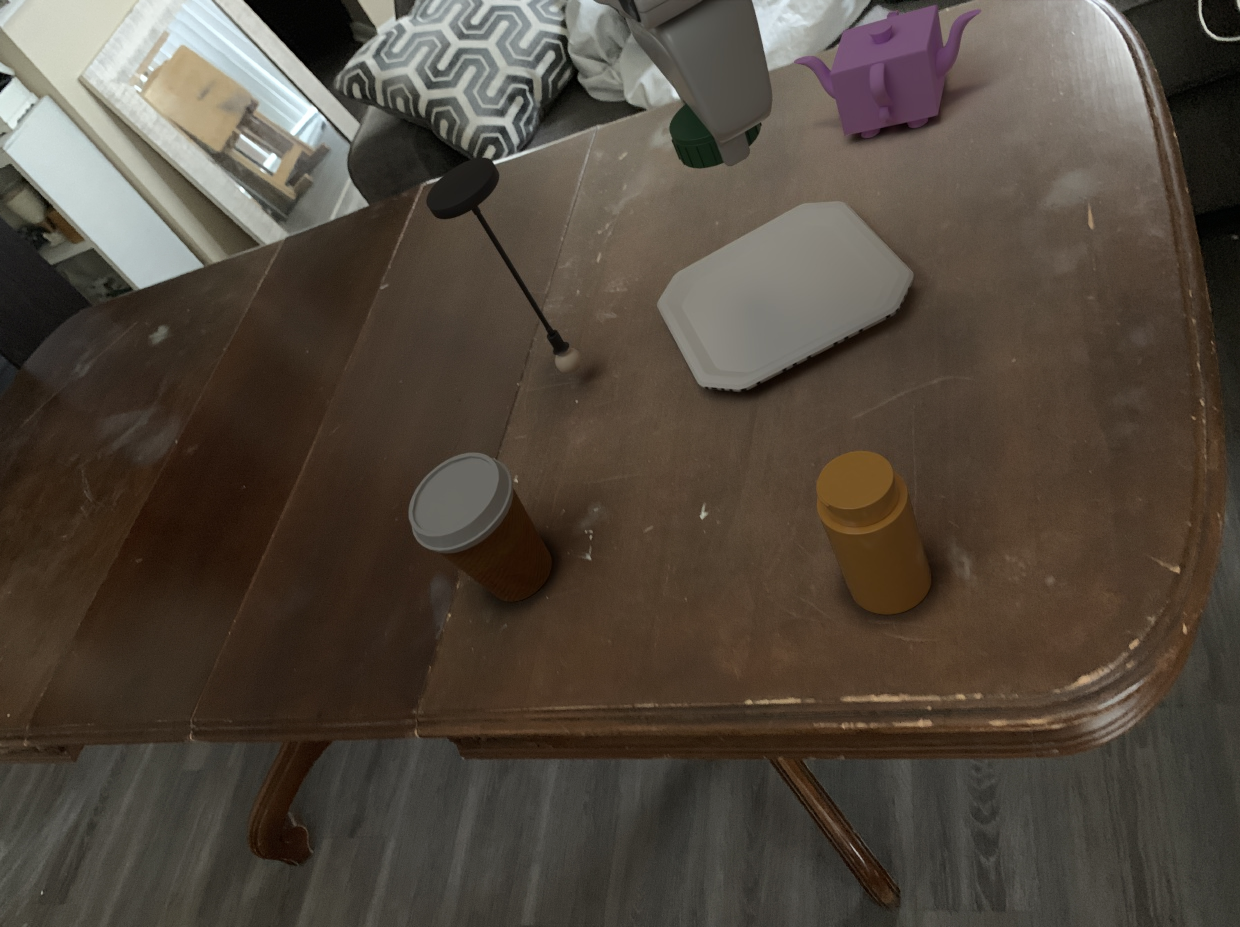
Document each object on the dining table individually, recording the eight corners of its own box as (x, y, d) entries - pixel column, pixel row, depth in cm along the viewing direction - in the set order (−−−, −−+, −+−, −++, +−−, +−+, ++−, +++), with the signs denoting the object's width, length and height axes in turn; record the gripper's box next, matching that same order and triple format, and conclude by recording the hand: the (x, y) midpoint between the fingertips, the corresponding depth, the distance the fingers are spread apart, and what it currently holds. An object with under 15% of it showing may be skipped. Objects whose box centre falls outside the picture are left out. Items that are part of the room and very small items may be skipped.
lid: (681, 181, 62) (670, 152, 60) (677, 136, 65) (666, 108, 64) (766, 146, 60) (757, 116, 58) (757, 102, 63) (747, 72, 62)
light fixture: (545, 384, 96) (418, 192, 79) (597, 349, 95) (481, 148, 78) (565, 417, 91) (436, 220, 74) (621, 381, 91) (503, 173, 73)
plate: (936, 309, 77) (932, 289, 75) (716, 420, 81) (709, 404, 80) (836, 203, 91) (831, 185, 90) (654, 303, 96) (646, 287, 94)
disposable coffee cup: (486, 635, 79) (411, 561, 70) (467, 560, 85) (397, 484, 77) (580, 585, 77) (515, 503, 69) (553, 512, 84) (491, 429, 76)
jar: (894, 535, 66) (861, 430, 58) (949, 581, 62) (922, 475, 54) (832, 580, 66) (791, 482, 58) (884, 629, 62) (847, 531, 54)
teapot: (997, 51, 94) (987, -43, 87) (985, 128, 88) (973, 33, 81) (825, 94, 104) (804, 12, 97) (803, 165, 98) (779, 84, 91)
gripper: (564, -78, 60) (638, 105, 70) (645, 12, 46) (724, 227, 56) (648, -132, 59) (712, 62, 69) (758, -56, 45) (819, 175, 55)
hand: (718, 137), depth 62 cm, fingers closed on lid, 6 cm apart
